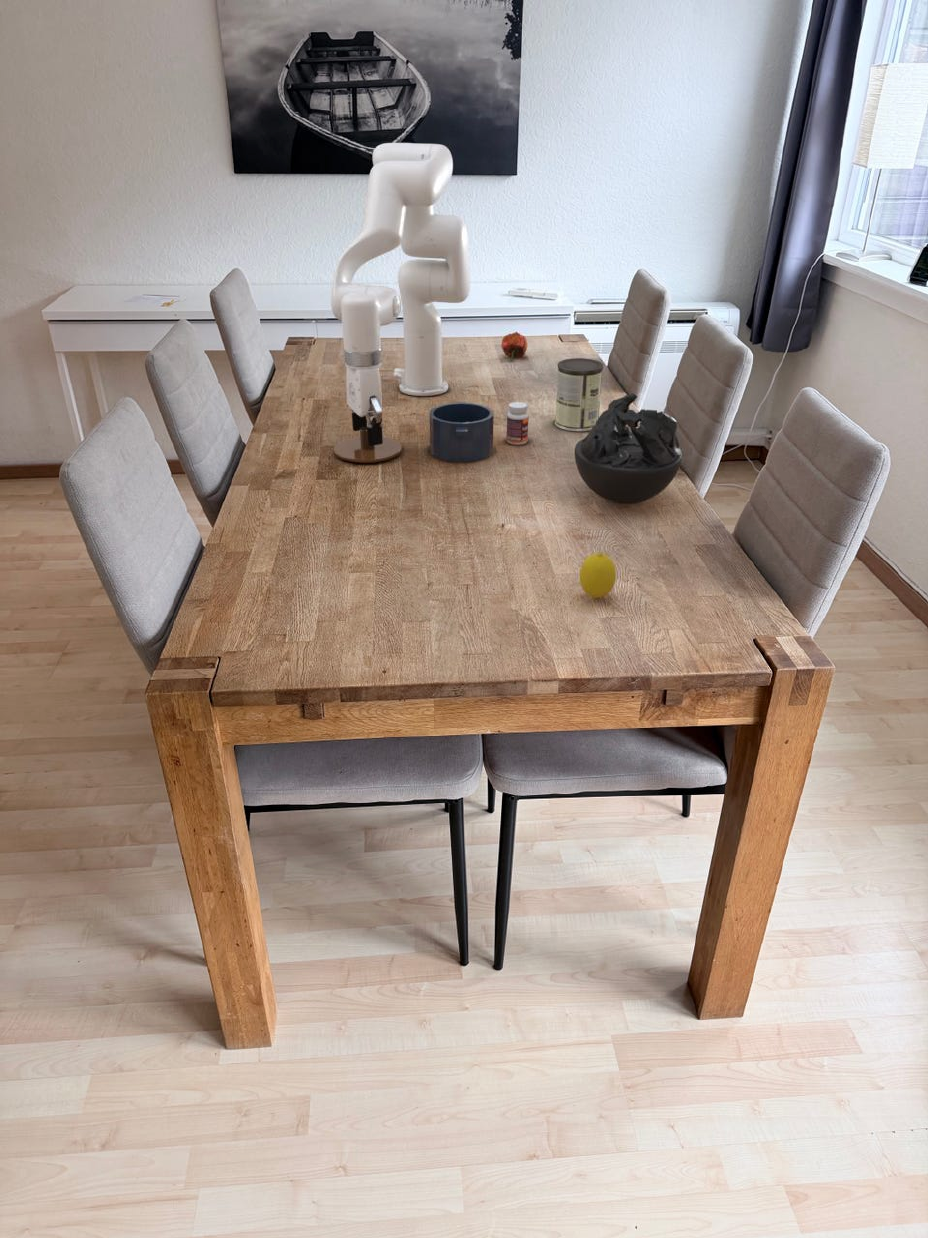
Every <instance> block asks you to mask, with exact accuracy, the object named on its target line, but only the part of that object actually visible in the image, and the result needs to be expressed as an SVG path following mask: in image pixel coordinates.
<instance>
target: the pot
mask: <svg viewBox="0 0 928 1238" xmlns="http://www.w3.org/2000/svg"><path fill="white" fill-rule="evenodd" d="M494 415H495V414H494V410H492V408H490V407H489V406H486V405H483V404H478V403H474V402H467V401H455V402H452V403H451V402H449V403H444V404H439V405H437V406H435V407H432V409H430V410H429V448H430V449H429V451H430V454H431V455H432V456H433V457H434V458H436V459H439V460H442V461H446V462H452V463H471V462H478V461H483V460H485V459H487V458H489V457H490V456H492V454H493V452H494V419H495V418H494Z"/></svg>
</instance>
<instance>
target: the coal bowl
mask: <svg viewBox="0 0 928 1238" xmlns="http://www.w3.org/2000/svg"><path fill="white" fill-rule="evenodd" d="M637 398H638V395H636V393H629V394H626V395H624V396H622V397H619V398H617V399H613V400H611V401H610V403H608V405H607V406H608V407H607V409H606V410H603V412H601V414H599V418H598V420H597V421H596V425H594V426H593V427H592V429H591V430H589V432H588V433H587V435H586V436H585V437H584V438H582V439H580V440H578V442H577V443H576V444H575V447H574V460H575V465H576V468H577V471H578V473H579V476H580V477H581V479H582V481H583V482H584V484H585V485H586V486H587V487H588V488H589V489H590V491H591V492H593V493H594V494H596V495H597V496H598V497H600V498H602V499H604V500H606V501H608V502H612V503H616V504H623V505H630V504H639V503H642V502H646V501H648V500H650V499H652V498H654V497H656V496H658V495H659V494H660V493H662V492H663V491H664V490H665V489H667V487H668V486H669V485H670V484H671V483H672V481H673V480H674V478H675V477H676V475H677V474H678V471H679V470H680V466H681V464H682V460H683V452H682V450H681V449H680V443H679V440H678V437H677V429H678V422H677V420H676V419H675V418H674V417H672V416H670V415H669V414H667V413H666V412H664V411H658V410H657V409H642V408H641V409H640V410H639V411H637V410H635V409H630V406H631V405H632V404H633V403H634V402H635V401H636V399H637ZM639 422H640V423H639Z"/></svg>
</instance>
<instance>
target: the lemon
mask: <svg viewBox="0 0 928 1238" xmlns="http://www.w3.org/2000/svg"><path fill="white" fill-rule="evenodd" d="M579 572H580V573H579V583H580V586H581V588H582V590H583V591H584V593H586V595H588V596H590V597H592V598H593V599H599V598H601V597H605V596H607V595H608V594H609V593H610V592H611V591H612V590H613V588H614V586H615V584H616V580H617V571H616V566H615V563H614V561H613V560H612V558H611V557H609V556H608V555H606V554H604V553H602V552H597V553H593V554H591V555H589V556H588V557H586V559H584V560H583V563H582V565H581V568H580V571H579Z"/></svg>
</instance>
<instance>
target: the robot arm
mask: <svg viewBox="0 0 928 1238" xmlns="http://www.w3.org/2000/svg"><path fill="white" fill-rule="evenodd" d="M372 165H373V166H372V168H371V169H370V172H369V175H368V182H367V189H366V195H365V196H366V197H365V205H364V211H363V217H362V218H363V219H362V225H361V232H360V234H358V236H357V237H356V238H355V239H353V240H352V242H350V244H348V246H347V247H346V248H345V250H344V251H343V253H342V254H341V255H340V257H339V259H338V261H337V262H336V265H335V269H334V273H333V279H332V285H331V293H330V307H331V312H332V314H333V316H334V317H335V318H336V319H337V320H338V321H341V325H342V341H343V354H344V356H343V357H344V366H345V367H346V370H345V372H346V374H345V377H346V378H345V381H346V382H345V384H346V387H345V388H346V404H347V406H348V407H349V408H350V411H351V423H352V424H351V425H352V431H354V432H360V428H361V427H365V426H368V427H367V442H368V445H369V446H373V445H380V444H382V443H383V437H384V436H383V399H382V397H383V395H382V385H381V376H380V375H381V374H380V368H379V367H381V366H382V365H383V364H382V361H383V360H382V343H381V327H383V326H389V325H391V324H392V323H394V322H395V321H396V320H397V318H398V317H399V315H400V313H401V310H402V322H403V323H402V324H403V349H404V350H403V351H404V353H403V354H404V357H403V358H404V369H403V368H399V367H397V368H395V369H394V371H393V378H395V379H400V380H401V382H400V383H399V386H398V387H399V391H400V392H401V393H403V394H405V395H409V396H415V397H430V396H431V397H432V396H438V395H441V394H444V393H446V392H447V391H448V390H449V384H448V382H447V381H445V380H444V379H443V351H442V350H443V347H442V346H443V345H442V344H443V343H442V342H443V341H442V337H443V336H442V334H443V333H442V324H443V323H442V318H441V315H440V313H439V311H438V309H437V307H436V306H435V304H434V303H447V304H459V303H463V302H465V301H466V300H467V299H468V297H469V295H470V291H471V290H470V289H471V272H470V255H469V254H470V253H469V251H470V250H469V238H468V237H469V236H468V230H467V226H466V223H465V221H464V220H463V219H462V218H461V217H460V216H458V215H454V214H438V213H436V212H435V210H434V204H436V203H437V201H438V200H439V199H440V198H441V196H442V194H443V193H444V191H445V190H446V188H447V187H448V185H449V183H450V181H451V178H452V176H453V170H454V161H453V156H452V153H451V151H450V149H449V148H448V147H447V146H446V145H444V144H439V143H413V142H385V143H381V144H379V145H377V146H376V147H374V149H373V153H372ZM399 246H400V247H401V250H402V252H403V253H404V255H406V256H408V257H412V258H417V259H410V260H406V261H405V262H403V263H402V264H401V265H400V267H399V269H398V272H397V284H398V290H399V293H398V291H397V290H396V289H395V288H393V287H390V286H386V285H371V284H356V283H352V281H353V278H354V277H355V274H356V272H357V271H358V270H359V269H360V268H361V267H362V266H364V264H366V263H368V262H369V261H372V260H373V259H376V258H378V257H380V256H383V255H385V254H387V253H389V252H391V251H393V250H395V249H397V248H398V247H399ZM438 259H439V260H438ZM371 418H372V419H371ZM382 436H383V437H382Z"/></svg>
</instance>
